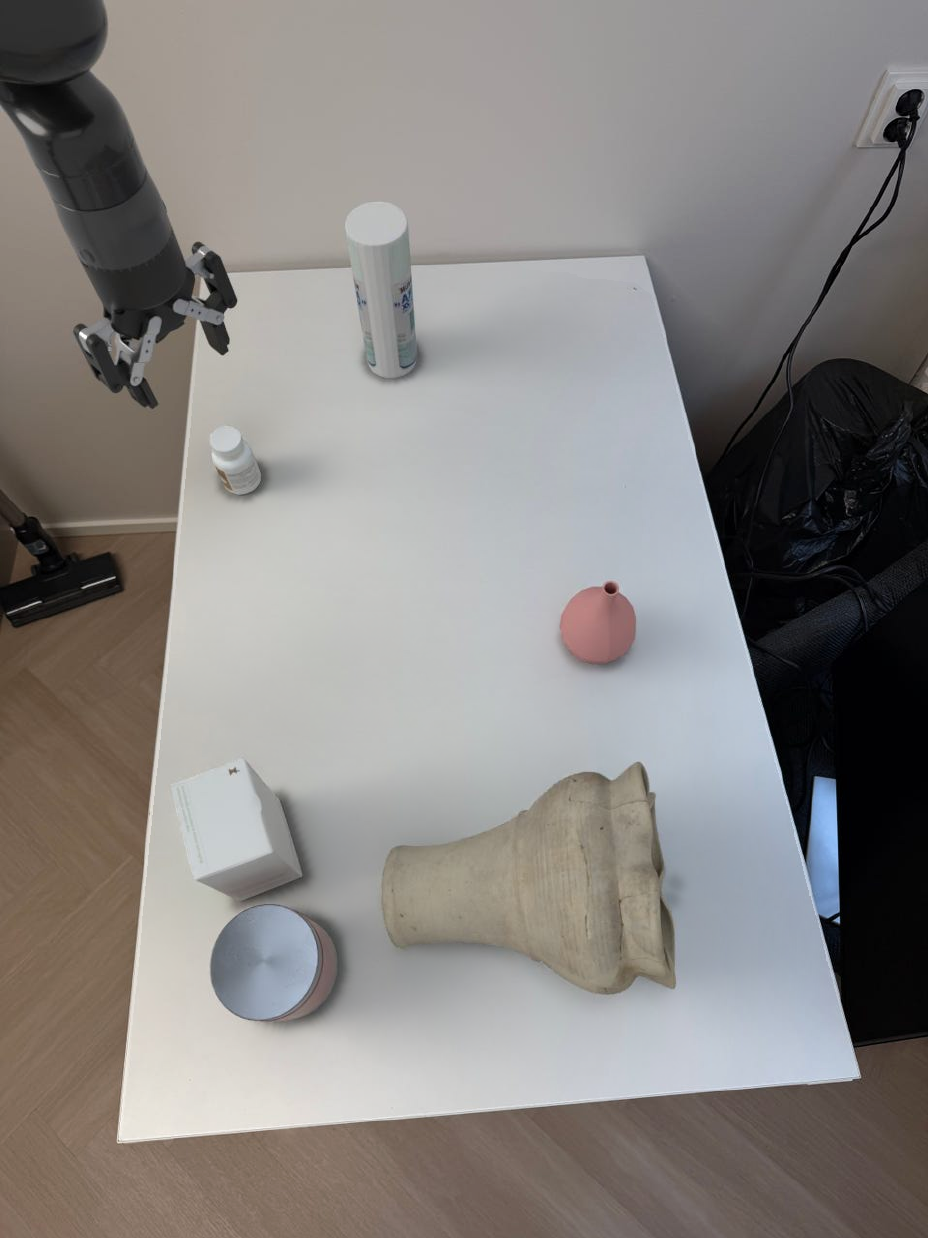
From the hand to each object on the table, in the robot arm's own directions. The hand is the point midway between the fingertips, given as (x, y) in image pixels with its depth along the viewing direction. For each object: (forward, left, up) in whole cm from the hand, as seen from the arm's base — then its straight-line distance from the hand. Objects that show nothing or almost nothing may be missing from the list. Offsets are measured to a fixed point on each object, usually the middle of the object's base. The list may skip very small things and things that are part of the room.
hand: (184, 375), depth 79 cm
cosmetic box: (-1, -41, -19) cm, 45 cm away
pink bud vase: (+35, -27, -19) cm, 48 cm away
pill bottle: (+1, +1, -19) cm, 19 cm away
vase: (+21, -49, -19) cm, 57 cm away
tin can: (0, -52, -19) cm, 55 cm away
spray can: (+21, +15, -19) cm, 32 cm away
